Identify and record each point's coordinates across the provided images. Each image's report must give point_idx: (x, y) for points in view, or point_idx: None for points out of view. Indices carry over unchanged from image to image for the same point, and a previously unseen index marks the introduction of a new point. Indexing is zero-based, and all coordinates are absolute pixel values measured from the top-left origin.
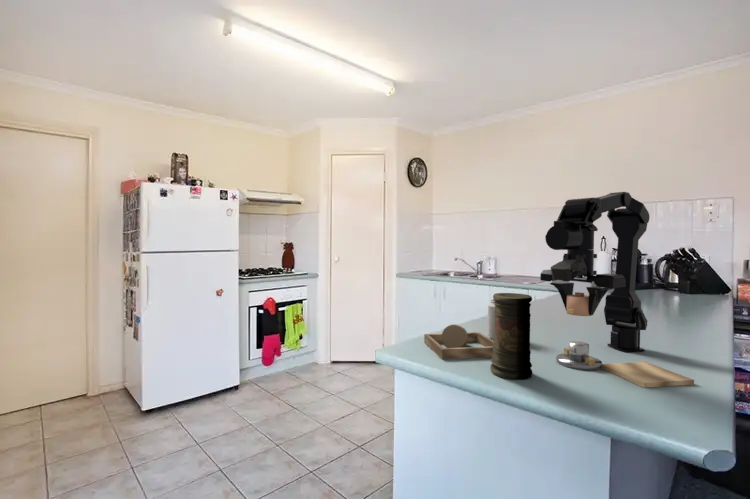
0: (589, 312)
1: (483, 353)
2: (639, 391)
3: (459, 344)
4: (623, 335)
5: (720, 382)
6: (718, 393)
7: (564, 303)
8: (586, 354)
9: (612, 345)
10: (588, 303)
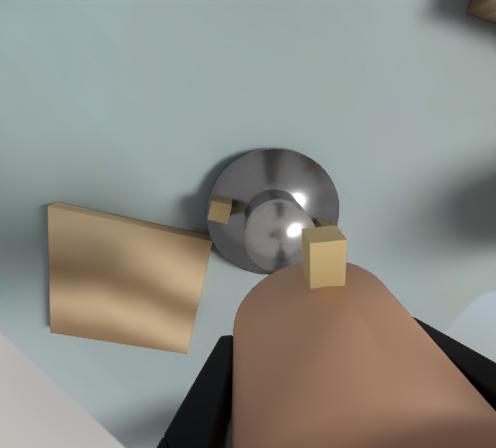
0: (224, 346)
1: None
2: (33, 164)
3: None
4: None
5: (61, 376)
6: (2, 318)
7: (467, 353)
8: (244, 226)
9: None
10: (232, 419)
